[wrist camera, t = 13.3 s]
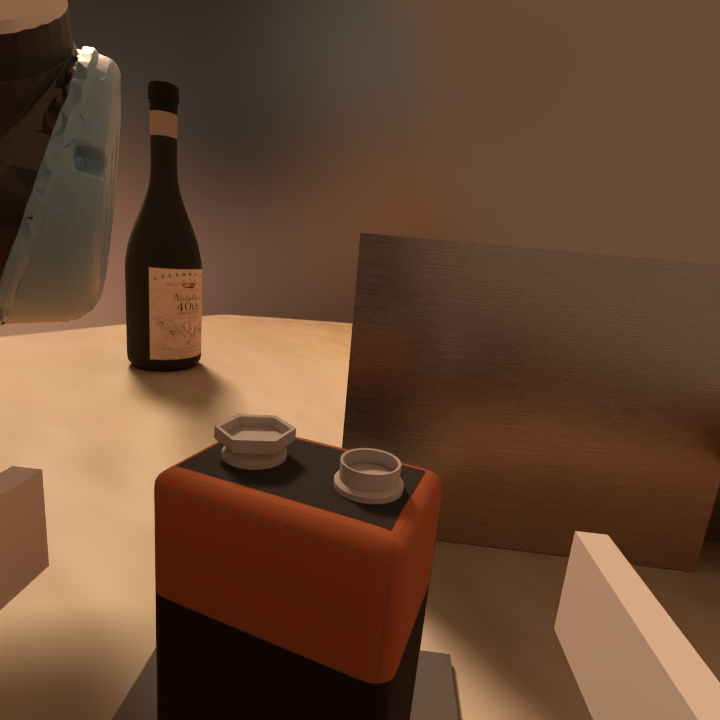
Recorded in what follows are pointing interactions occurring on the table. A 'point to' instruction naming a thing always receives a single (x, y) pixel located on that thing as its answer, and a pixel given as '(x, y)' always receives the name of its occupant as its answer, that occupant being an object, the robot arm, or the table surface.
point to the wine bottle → (163, 255)
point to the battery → (290, 578)
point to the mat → (429, 706)
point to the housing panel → (544, 392)
